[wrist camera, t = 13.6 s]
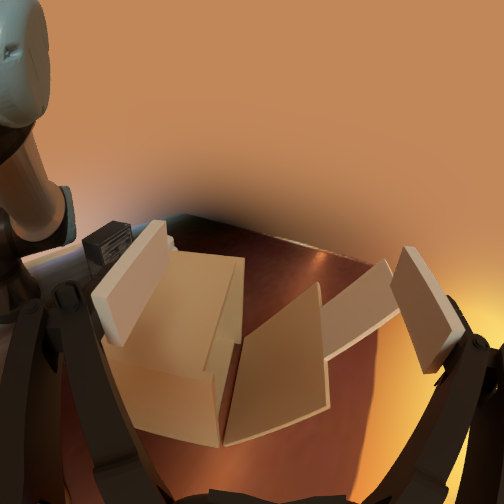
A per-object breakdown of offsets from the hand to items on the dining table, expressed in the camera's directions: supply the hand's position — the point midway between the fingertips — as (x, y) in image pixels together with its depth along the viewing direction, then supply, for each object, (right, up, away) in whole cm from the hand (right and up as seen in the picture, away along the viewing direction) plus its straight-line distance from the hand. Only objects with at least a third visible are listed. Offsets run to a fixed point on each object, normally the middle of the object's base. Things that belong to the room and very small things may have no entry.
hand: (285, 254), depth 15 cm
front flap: (-4, -19, +23) cm, 30 cm away
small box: (-33, -5, +47) cm, 58 cm away
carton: (-12, -19, +24) cm, 33 cm away
